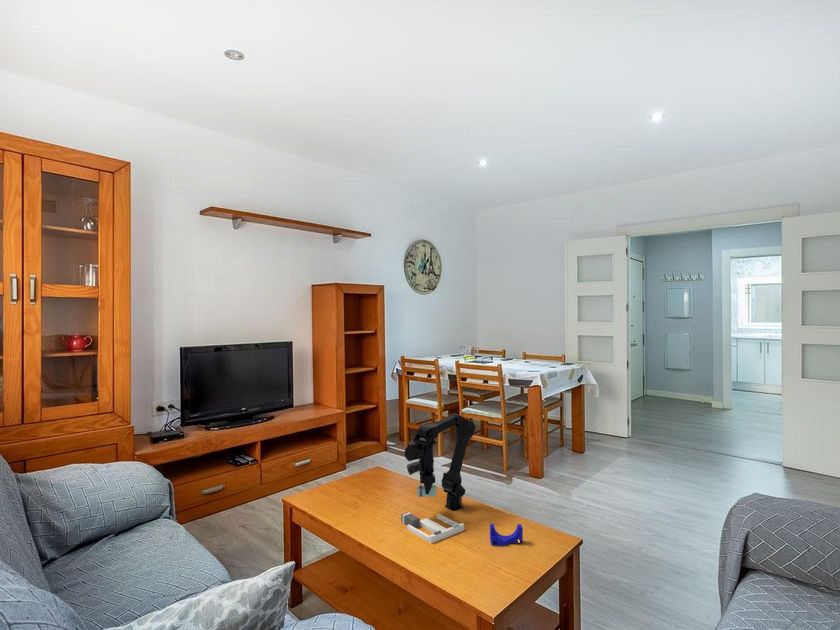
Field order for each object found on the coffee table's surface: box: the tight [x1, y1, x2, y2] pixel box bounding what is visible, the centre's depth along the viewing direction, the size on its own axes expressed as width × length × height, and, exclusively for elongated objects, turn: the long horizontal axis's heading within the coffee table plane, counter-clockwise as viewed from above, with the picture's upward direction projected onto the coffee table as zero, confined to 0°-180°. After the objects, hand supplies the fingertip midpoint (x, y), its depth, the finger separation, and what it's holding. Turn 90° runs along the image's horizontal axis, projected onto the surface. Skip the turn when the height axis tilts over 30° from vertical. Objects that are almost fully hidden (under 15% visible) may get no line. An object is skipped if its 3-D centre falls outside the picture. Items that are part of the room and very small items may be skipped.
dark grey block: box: [400, 511, 421, 529], centre depth 195 cm, size 4×8×4 cm, turn 38°
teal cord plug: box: [416, 484, 437, 498], centre depth 201 cm, size 4×8×4 cm, turn 92°
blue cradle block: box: [489, 523, 524, 546], centre depth 180 cm, size 12×4×6 cm, turn 88°
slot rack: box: [406, 513, 465, 544], centre depth 190 cm, size 17×15×3 cm
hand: (426, 492), depth 201 cm, fingers closed on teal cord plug, 3 cm apart
